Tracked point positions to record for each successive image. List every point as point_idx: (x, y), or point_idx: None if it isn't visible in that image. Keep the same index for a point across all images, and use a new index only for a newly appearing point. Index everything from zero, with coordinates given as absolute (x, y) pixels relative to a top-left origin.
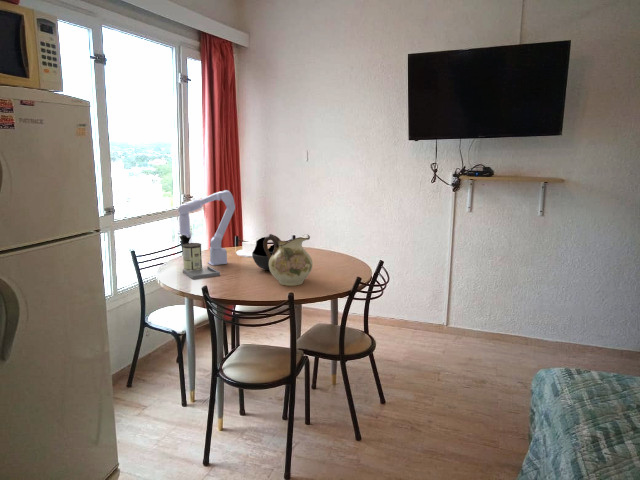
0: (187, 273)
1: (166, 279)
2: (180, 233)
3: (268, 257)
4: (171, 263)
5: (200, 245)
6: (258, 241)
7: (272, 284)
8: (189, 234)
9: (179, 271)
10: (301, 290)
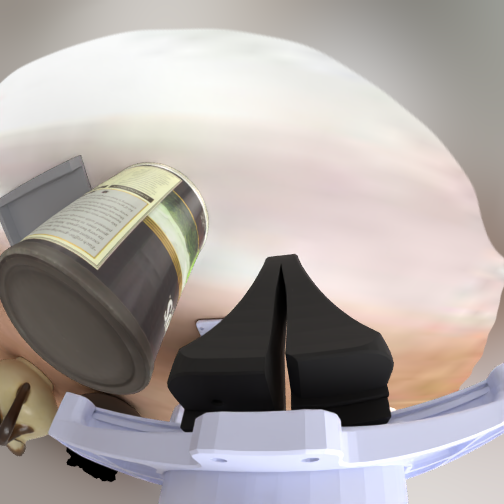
0: (26, 182)
1: (9, 89)
2: (202, 459)
3: (14, 399)
4: (370, 108)
5: (62, 369)
6: (71, 456)
7: (16, 347)
8: (69, 446)
9: (108, 134)
10: (6, 357)
